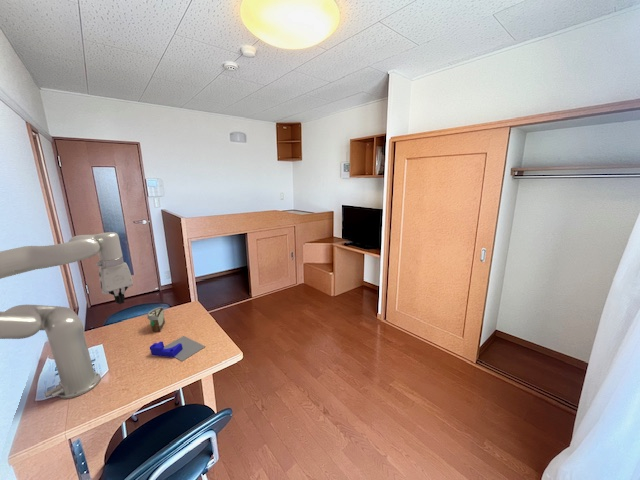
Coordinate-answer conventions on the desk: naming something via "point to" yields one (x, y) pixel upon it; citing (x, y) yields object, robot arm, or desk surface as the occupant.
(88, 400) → the desk surface
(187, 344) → the pad
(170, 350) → the blue angular piece
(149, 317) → the food container
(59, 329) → the robot arm
